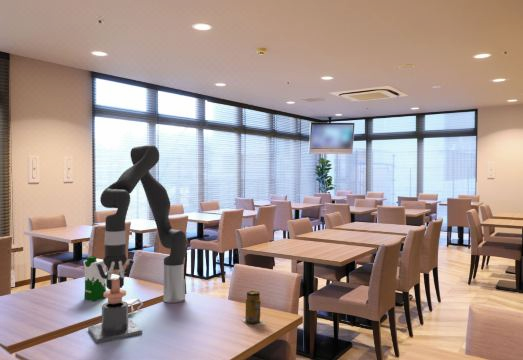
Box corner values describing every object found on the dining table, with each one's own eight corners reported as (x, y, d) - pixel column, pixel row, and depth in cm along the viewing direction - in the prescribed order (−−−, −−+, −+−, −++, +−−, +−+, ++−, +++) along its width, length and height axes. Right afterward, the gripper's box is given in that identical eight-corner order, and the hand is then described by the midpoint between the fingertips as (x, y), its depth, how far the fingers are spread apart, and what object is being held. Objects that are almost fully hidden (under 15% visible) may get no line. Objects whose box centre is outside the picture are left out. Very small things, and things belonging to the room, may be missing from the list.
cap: (122, 297, 164) (122, 275, 164) (128, 302, 158) (129, 280, 158) (101, 300, 160) (101, 278, 160) (106, 306, 153) (107, 283, 153)
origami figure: (127, 318, 174) (127, 306, 174) (112, 315, 178) (112, 303, 178) (147, 310, 185) (147, 299, 185) (133, 307, 189) (133, 296, 188)
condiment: (256, 317, 177) (257, 289, 177) (266, 324, 170) (266, 294, 169) (240, 320, 174) (241, 291, 174) (249, 327, 167) (249, 296, 166)
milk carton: (81, 299, 199) (81, 256, 198) (97, 294, 206) (97, 253, 206) (92, 302, 194) (93, 259, 193) (109, 297, 202) (109, 255, 201)
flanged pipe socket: (130, 322, 169) (130, 296, 169) (142, 334, 158) (142, 306, 158) (88, 330, 160) (88, 303, 160) (97, 343, 149) (97, 314, 149)
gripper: (130, 239, 165) (130, 283, 166) (93, 242, 157) (92, 288, 158) (137, 242, 159) (136, 287, 160) (98, 245, 151) (97, 293, 152)
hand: (114, 287), depth 159 cm, fingers closed on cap, 3 cm apart
